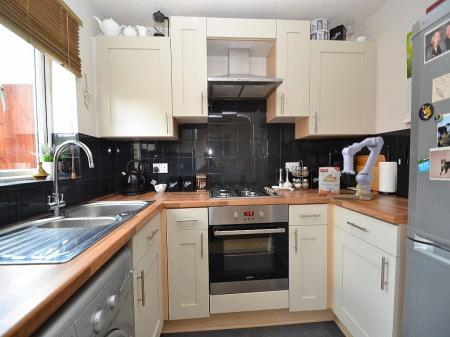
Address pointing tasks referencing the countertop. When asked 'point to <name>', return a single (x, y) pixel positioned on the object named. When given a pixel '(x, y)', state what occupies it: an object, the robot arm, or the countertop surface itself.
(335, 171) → the cracker box
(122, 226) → the countertop surface
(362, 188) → the gauge
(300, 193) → the countertop surface
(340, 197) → the board
